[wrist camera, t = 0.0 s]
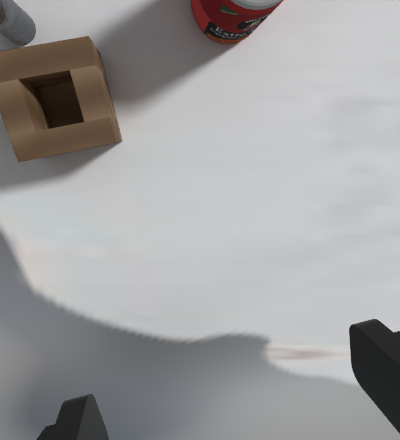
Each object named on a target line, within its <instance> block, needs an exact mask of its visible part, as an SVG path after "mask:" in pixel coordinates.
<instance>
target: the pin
mask: <svg viewBox="0 0 400 440" xmlns="http://www.w3.org/2000/svg"><path fill="white" fill-rule="evenodd" d="M35 32H36V29H35V24H34V22H33V20H32V19H31V17H30V16H29V15H28V14H27V13H26V12H25V11H24V10H22V9H21V8H20V7H19V6H18V5H17V4H16V3H15V2H14V1H13V0H0V33H1V34H2V35H4V36H5V37H7V38H8V39H10V40H11V41H13V42H14V43H17V44H27V43H29V42H31V41H32V40H33V38H34V36H35Z"/></svg>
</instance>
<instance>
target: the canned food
mask: <svg viewBox="0 0 400 440" xmlns="http://www.w3.org/2000/svg"><path fill="white" fill-rule="evenodd" d="M282 1H283V0H191V4H192V10H193V14H194V17H195V19H196V22H197V24H198V25H199V27H200V28H201V30H202V31H203V32H204V33H205V34H206V35H207V36H208V37H209V38H211V39H212V40H214V41H217V42H219V43H224V44H232V43H237V42H240V41H242V40H243V39H245V38H247V37H248V36H249V35H250V34H251V33H252V32H253V31H254V30H255V29H256V28H257V27H258V26H259V25H260V24H261V23H262V22H263V21H264V20H265V19H266V18H267V17H268V16H269V15H270V14H271V13H272V12H273V11H274V10H275V9H276V8H277V7H278V6H279V4H280V3H281V2H282Z"/></svg>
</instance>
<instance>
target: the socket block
mask: <svg viewBox="0 0 400 440" xmlns="http://www.w3.org/2000/svg"><path fill="white" fill-rule="evenodd" d="M0 112H1V115H2V118H3V121H4V123H5V126H6V129H7V132H8V135H9V137H10V140H11V143H12V146H13V149H14V151H15V154H16V157H17V160H18V162H22V161H27V160H32V159H37V158H42V157H47V156H52V155H57V154H62V153H67V152H72V151H77V150H82V149H87V148H92V147H97V146H102V145H106V144H111V143H116V142H121V141H122V137H121V134H120V130H119V126H118V122H117V118H116V114H115V110H114V106H113V102H112V99H111V95H110V91H109V87H108V83H107V79H106V75H105V71H104V67H103V64H102V60H101V56H100V53H99V51H98V50H97V48H96V47H95V45H94V44H93V42H92V41H91V39H90V38H89V36H86V37H81V38H75V39H69V40H63V41H57V42H51V43H46V44H40V45H34V46H28V47H22V48H17V49H11V50H5V51H0Z"/></svg>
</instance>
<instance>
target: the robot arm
mask: <svg viewBox="0 0 400 440" xmlns="http://www.w3.org/2000/svg"><path fill="white" fill-rule="evenodd" d="M349 334H350V349H351V364H352V369H353V372H354V375H355V377H356V379H357V381H358V383H359V384H360V386H361V387H362V388H363V390H364V391H365V392H366V393H367V394H368V396H369V397H370V398H371V399H372V400H373V401H374V403H375V404H376V405H377V406H378V408H379V409H380V410H381V411H382V413H383V414H384V415H385V416H386V417H387V418H388V420H389V421H390V422H391V424H392V425H393V426H394V427H395V428H396V429H397V431H398V432H399V433H400V331H398V332H394V333H393V332H392V331H391V330H390V329H389V328H387V327H386V326H385V325H384V324H382V323H381V322H380V321H379V320H377V319H372V320H368V321H364V322H361V323H357V324H353V325H351V326H350V329H349ZM37 440H109V438H108V433H107V430H106V427H105V425H104V422H103V419H102V416H101V414H100V411H99V408H98V406H97V403H96V400H95V398H94V396H93V395H92V394H88V395H85V396H81V397H77V398H74V399H70V400H66V401H64V402H63V404H62V406H61V409H60V412H59V415H58V418H57V421H56V424H54V425H50V426H47V427H45V429H44V430H43V431H42V433H41V434H40V436H39V437H38V438H37Z"/></svg>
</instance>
